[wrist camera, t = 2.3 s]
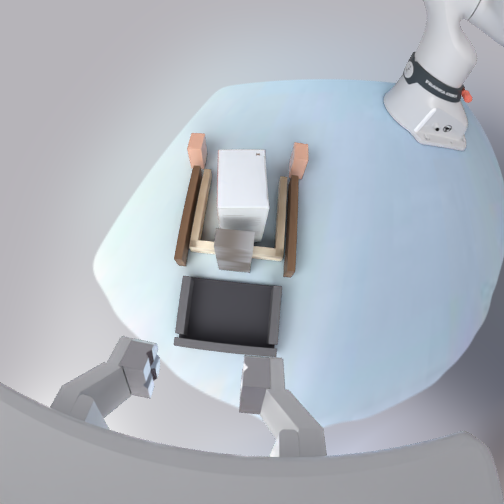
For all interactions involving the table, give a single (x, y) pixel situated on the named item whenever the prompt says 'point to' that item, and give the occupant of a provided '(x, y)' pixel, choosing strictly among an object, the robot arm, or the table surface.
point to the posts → (199, 155)
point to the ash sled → (237, 234)
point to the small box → (242, 190)
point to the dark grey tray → (228, 317)
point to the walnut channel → (189, 216)
